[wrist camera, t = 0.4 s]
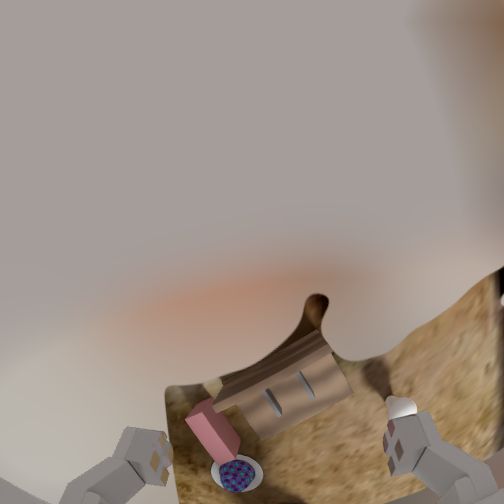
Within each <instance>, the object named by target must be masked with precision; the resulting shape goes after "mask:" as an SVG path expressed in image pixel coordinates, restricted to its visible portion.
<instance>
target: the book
mask: <svg viewBox="0 0 504 504" xmlns="http://www.w3.org/2000/svg"><path fill="white" fill-rule="evenodd" d="M213 402H214V399H213V398H212V397H210V398H208V399H206V400H204V401H202V402H200V403H198V404H196V405H195V407H194V408H193V409H192V411H191V412H190V413H189V415H188V416H187V417H186V419H185V421H186V422H187V423H188V425H189V426H190V428H191V429H192V431H193V432H194V433H195V435H196V436H197V438H198V439H199V440H200V442H201V443H202V445H203V446H204V447H205V449H206V450H207V451H208V453H209V454H210V455H211V457H212V458H213V459H214V460H215V462H216V463H217V464H218V466H219V465H222V464H224V463H227V462H230V461H232V460H235V459H236V457H237V453H238V449H239V446H240V442H241V438H240V437H239V436H238V434H237V433H236V431H235V430H234V429H233V427H232V426H231V424H230V423H229V421H228V420H227V419H226V417H225V416H224V414H223V413H222V411H221V412H218V413H216V412H215V411H214V409H213V408H212V404H213Z"/></svg>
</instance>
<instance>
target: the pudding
mask: <svg viewBox="0 0 504 504" xmlns="http://www.w3.org/2000/svg"><path fill="white" fill-rule="evenodd" d="M236 459H239V460H243V462H240V461H238V460H232V461H230V462H227V463H224V464H222V468H221V469H220V471H219V468H220V466H221V465H219V466H218V464H217V463H216V462H214V463H213V465H212V467H211V474H212V477H213V479H214V481H215V482H216V483H217V484H218V485H220V486H221V487H223V488H224V489H226V490H229V491H230V492H246V491H250V490H252V489H254V488H256V487H257V486H258V485H259V484H260V483H261V481H262V479H263V471H262V468H261V467H260V465H259V464H258V463H257V462H256V461H255V460H253V459H251V458H249V457H247V456H244V455H239V454H237V457H236ZM244 461H246V462H244ZM247 462H248V463H249V464H250V465H252V467H253V468H254V469H253V468H252V467H249V464H248V463H247ZM254 470H255V474H256V475H255V478H254V475H253V474H254ZM219 472H220V474H219ZM253 479H254V480H253ZM252 480H253V481H252Z"/></svg>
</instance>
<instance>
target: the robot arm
mask: <svg viewBox="0 0 504 504" xmlns="http://www.w3.org/2000/svg"><path fill="white" fill-rule="evenodd" d="M387 427H388V430H387V431H386V432H385V433H384V437H383V447H384V452H385V454H386V455H387V456H388V457H390V459H389V462H388V466H389V469H390V473H391V477H393V476H397V475H401V474H406V473H410V472H412V473H413V474H414V475H415V476H416V477H417V478H419V479H420V480H421V481H422V482H423V483H424V484H426V485H427V486H428V487H429V488H431V489H432V490H433V491H434V492H435V493H436V494H438V495H439V496H440V497H441V499H440V500H439V501H438V502H437V503H436V504H504V488H503V489H501V490H499V489H498V486H497V484H496V482H495V479H494V477H493V475H492V473H491V471H490V468H489V466H488V465H486V464H484V463H483V462H481V461H479V460H478V459H476V458H474V457H472V456H471V455H469V454H467V453H466V452H464V451H462V450H461V449H459V448H457V447H456V446H454V445H452V444H451V443H449V442H447V441H444V442H443V441H442V439H441V436H440V434H439V432H438V430H437V428H436V426H435V423H434V421H433V419H432V417H431V415H430V413H429V412H428V411H423V412H419V413H416V414H410V415H406V416H402V417H398V418H394V419H390V420H389V421H388V424H387ZM166 439H167V436H166V434H165V432H163V431H155V430H147V429H140V428H134V427H126V428H125V429H124V431H123V433H122V436H121V438H120V440H119V442H118V444H117V447H116V449H115V451H114V454H113V456H112V457H108V458H107V459H105V460H104V461H102V462H100V463H99V464H98V465H96V466H94V467H93V468H92V469H90V470H88V471H87V472H85V473H84V474H82V475H81V476H79V477H77V478H76V479H74V480H73V481H71V482H70V483H68V485H67V487H66V489H65V491H64V493H63V496H62V498H61V500H60V502H59V504H125V503H126V502H127V501H129V500H130V499H131V498H132V497H133V496H134V495H135V494H136V493H137V492H138V491H140V490H141V489H142V488H143V487H144V486H145V484H151V485H157V486H166V483H167V480H168V476H169V472H168V470H167V468H168V467H169V466H170V465H171V464H172V461H173V448H172V445H171V443H169V442H168V441H166ZM0 504H50V503H48V502H45V501H43V500H41V499H39V498H37V497H35V496H33V495H31V494H29V493H28V492H26V491H24V490H22V489H20V488H18V487H17V486H15V485H13V484H11V483H10V482H8V481H6V480H4V479H3V478H1V477H0Z"/></svg>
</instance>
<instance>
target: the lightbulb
mask: <svg viewBox="0 0 504 504" xmlns="http://www.w3.org/2000/svg"><path fill="white" fill-rule="evenodd" d="M385 403H386V405H387V408H388V411H387V417H388V420H390V419H394V418H398V417H402V416H406V415H410V414H416V413H417V407H416V404H415V402H414V401H413V400H412V399H410V398H407V397H401V398H398V397H395V396H393V395H391V396H389V397H387V399H386V401H385Z"/></svg>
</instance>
